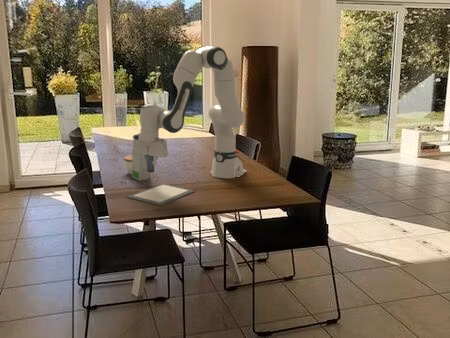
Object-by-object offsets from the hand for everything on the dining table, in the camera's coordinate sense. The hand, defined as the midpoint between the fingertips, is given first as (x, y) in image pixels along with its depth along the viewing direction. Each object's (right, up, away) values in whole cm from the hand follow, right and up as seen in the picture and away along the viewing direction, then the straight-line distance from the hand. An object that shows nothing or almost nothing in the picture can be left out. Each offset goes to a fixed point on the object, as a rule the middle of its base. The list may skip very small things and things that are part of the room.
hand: (150, 163), depth 236 cm
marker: (0, -4, +1) cm, 4 cm away
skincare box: (-8, -8, +16) cm, 19 cm away
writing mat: (+7, -15, -11) cm, 20 cm away
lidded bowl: (-12, -5, +25) cm, 29 cm away
